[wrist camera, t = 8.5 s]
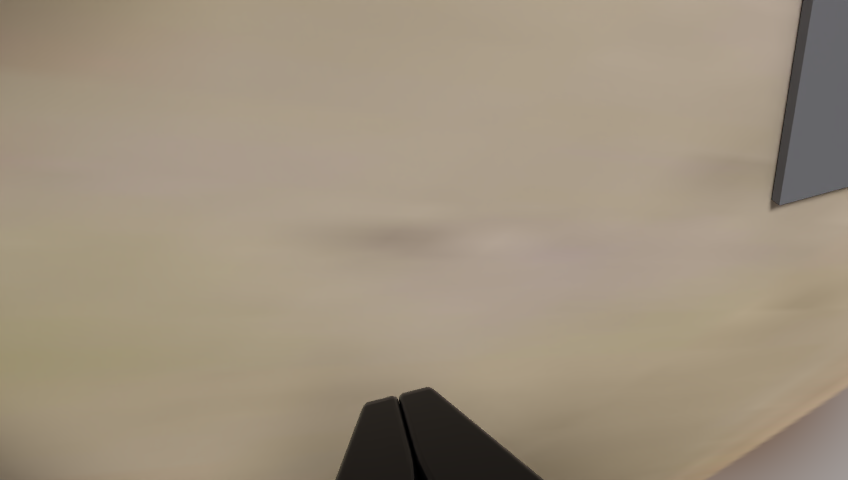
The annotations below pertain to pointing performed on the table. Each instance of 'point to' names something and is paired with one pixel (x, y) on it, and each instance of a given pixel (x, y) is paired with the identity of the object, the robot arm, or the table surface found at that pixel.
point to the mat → (816, 106)
